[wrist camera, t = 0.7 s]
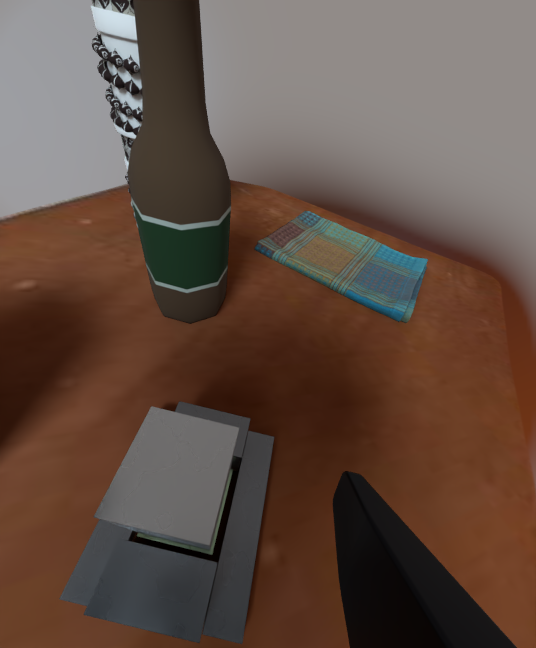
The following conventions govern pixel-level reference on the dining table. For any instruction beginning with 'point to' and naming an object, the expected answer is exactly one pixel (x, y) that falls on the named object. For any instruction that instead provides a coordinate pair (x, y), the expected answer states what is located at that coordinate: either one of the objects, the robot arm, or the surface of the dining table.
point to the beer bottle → (178, 166)
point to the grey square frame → (181, 560)
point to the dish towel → (348, 264)
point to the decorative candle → (120, 67)
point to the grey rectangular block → (173, 480)
